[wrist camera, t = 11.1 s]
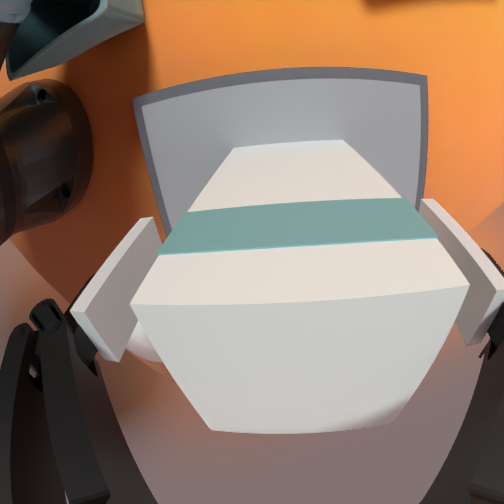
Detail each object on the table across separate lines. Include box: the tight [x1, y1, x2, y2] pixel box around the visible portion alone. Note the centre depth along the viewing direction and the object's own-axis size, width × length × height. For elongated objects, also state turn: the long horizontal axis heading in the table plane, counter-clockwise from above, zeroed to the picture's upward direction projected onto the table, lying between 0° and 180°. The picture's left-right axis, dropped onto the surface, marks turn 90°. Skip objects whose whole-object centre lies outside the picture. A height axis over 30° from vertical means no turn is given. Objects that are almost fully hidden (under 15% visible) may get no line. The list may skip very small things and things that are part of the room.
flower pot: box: [6, 0, 145, 81], centre depth 10 cm, size 9×9×9 cm
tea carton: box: [130, 140, 470, 434], centre depth 12 cm, size 7×7×14 cm
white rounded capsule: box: [126, 321, 163, 362], centre depth 27 cm, size 6×6×7 cm
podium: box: [132, 67, 428, 237], centre depth 19 cm, size 20×16×3 cm
